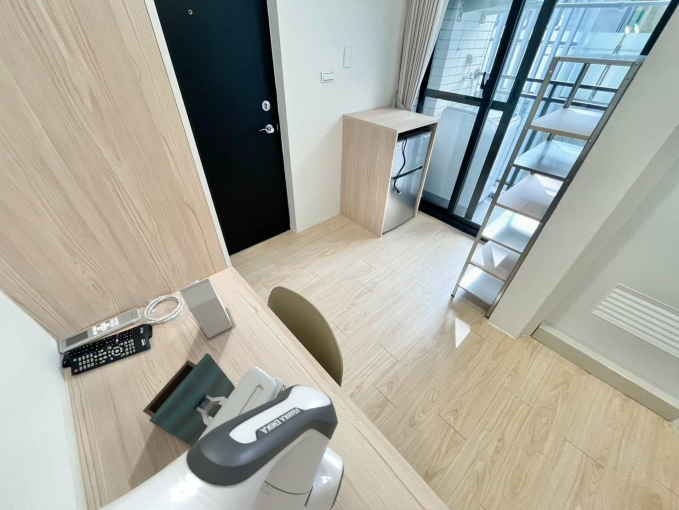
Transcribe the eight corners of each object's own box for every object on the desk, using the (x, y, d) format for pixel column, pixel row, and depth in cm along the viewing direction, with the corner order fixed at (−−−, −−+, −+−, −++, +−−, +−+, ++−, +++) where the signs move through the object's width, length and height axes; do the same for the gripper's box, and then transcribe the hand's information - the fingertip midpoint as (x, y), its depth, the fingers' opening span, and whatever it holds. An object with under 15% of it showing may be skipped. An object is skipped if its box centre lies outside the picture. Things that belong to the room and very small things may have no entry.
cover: (148, 420, 44) (152, 422, 43) (206, 352, 52) (209, 354, 51) (189, 443, 54) (192, 445, 54) (232, 384, 62) (234, 386, 62)
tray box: (157, 419, 63) (142, 411, 59) (197, 371, 72) (187, 359, 67) (203, 452, 59) (191, 445, 54) (241, 396, 67) (233, 386, 62)
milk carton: (232, 326, 81) (212, 286, 68) (208, 338, 78) (182, 299, 65) (225, 310, 85) (204, 269, 72) (202, 321, 83) (176, 281, 69)
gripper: (288, 378, 53) (233, 349, 58) (212, 505, 40) (149, 456, 44) (292, 389, 58) (241, 362, 62) (225, 507, 45) (166, 463, 49)
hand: (202, 402), depth 53 cm, fingers closed, pressing on cover
